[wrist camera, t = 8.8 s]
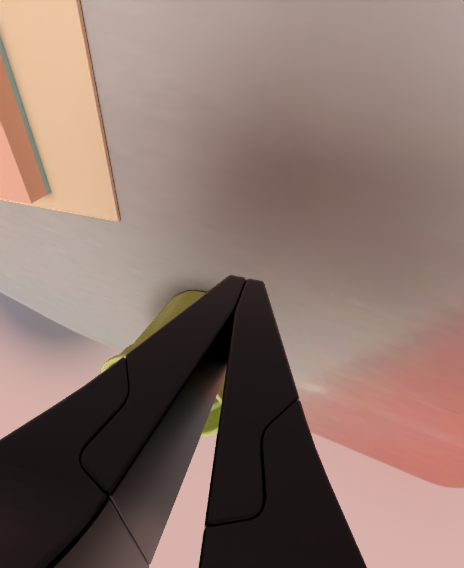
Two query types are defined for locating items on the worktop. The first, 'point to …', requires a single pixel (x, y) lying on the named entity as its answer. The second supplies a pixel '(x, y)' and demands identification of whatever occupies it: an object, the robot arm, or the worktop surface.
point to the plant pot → (164, 317)
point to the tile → (17, 144)
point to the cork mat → (60, 104)
